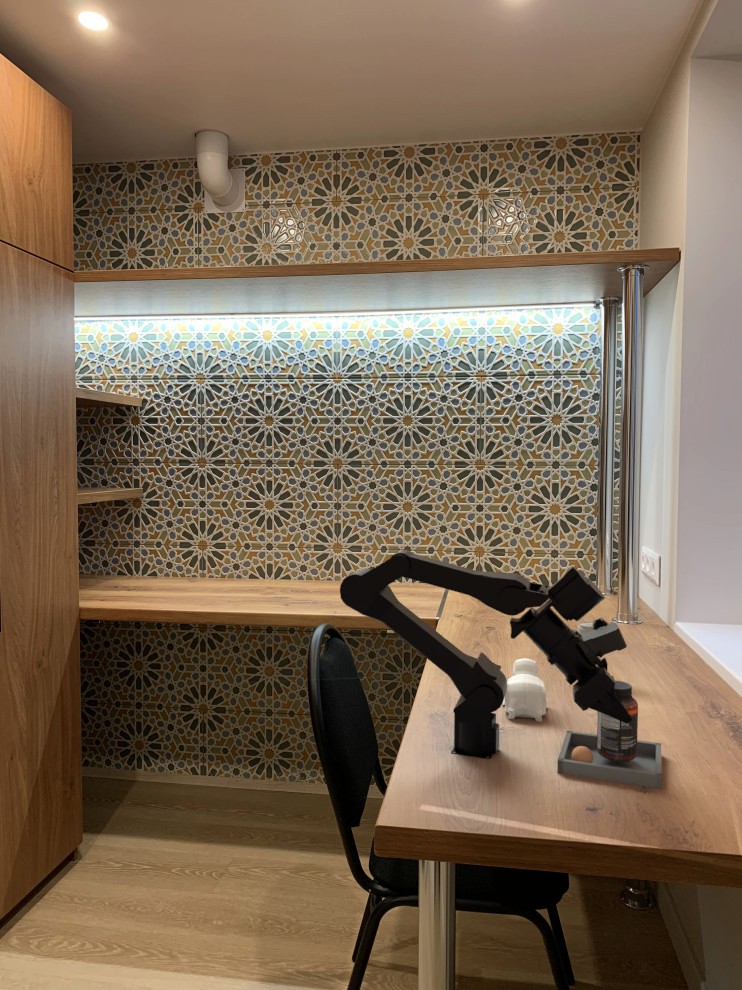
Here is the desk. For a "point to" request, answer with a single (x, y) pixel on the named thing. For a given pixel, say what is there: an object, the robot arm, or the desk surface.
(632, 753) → the supplement bottle
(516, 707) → the white low-poly figurine
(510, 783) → the desk surface
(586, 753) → the ball
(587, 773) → the tray
